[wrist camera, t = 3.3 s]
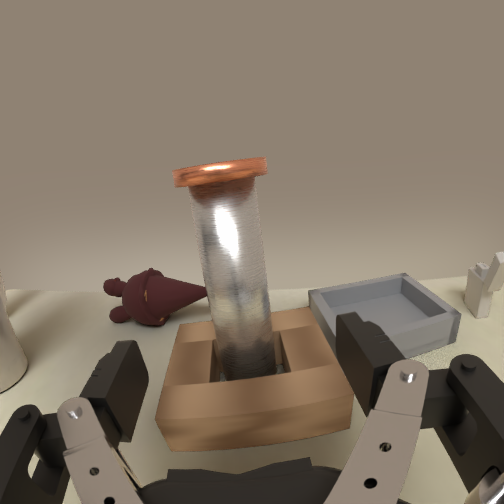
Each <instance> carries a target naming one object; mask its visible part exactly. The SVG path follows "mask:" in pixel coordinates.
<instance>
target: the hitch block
mask: <svg viewBox="0 0 504 504" xmlns="http://www.w3.org/2000/svg"><path fill="white" fill-rule="evenodd" d="M271 320H272V329H273V338H274V348H275V357H276V365H277V364H283V367H284V371H285V373H283V374H277V375H271V376H264V377H257V378H250V379H242V380H233V381H224V382H220V372H224V371H223V367H222V362H221V358H220V354H219V349H218V345H217V340H216V335H215V331H214V326H213V321H206V322H197V323H188V324H180V325H179V329H178V332H177V336H176V339H175V343H174V347H173V350H172V354H171V358H170V361H169V365H168V369H167V372H166V376H165V380H164V384H163V388H162V392H161V396H160V400H159V404H158V408H157V412H156V416H155V421H156V423H157V425H158V427H159V429H160V431H161V433H162V435H163V437H164V439H165V440H166V442H167V444H168V446H169V448H170V450H171V451H208V450H224V449H236V448H246V447H255V446H263V445H270V444H277V443H283V442H289V441H295V440H300V439H305V438H310V437H315V436H320V435H324V434H329V433H333V432H337V431H341V430H345V429H349V428H350V421H351V414H352V406H353V398H354V392H353V390H352V389H351V387H350V385H349V383H348V381H347V379H346V377H345V375H344V373H343V371H342V369H341V367H340V365H339V363H338V361H337V359H336V357H335V355H334V353H333V351H332V350H331V348H330V346H329V344H328V342H327V340H326V338H325V336H324V334H323V332H322V330H321V328H320V327H319V325H318V323H317V321H316V319H315V317H314V315H313V313H312V311H311V310H310V308H309V307H304V308H298V309H292V310H286V311H279V312H273V313H271Z"/></svg>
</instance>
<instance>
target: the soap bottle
mask: <svg viewBox="0 0 504 504" xmlns="http://www.w3.org/2000/svg"><path fill="white" fill-rule="evenodd" d="M0 296H1V299H2V302H3V304H4V307H5V310H6V301H7V298H6V293H5V287H4V281H3V278H2V274H1V271H0Z"/></svg>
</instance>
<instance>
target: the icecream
mask: <svg viewBox="0 0 504 504" xmlns="http://www.w3.org/2000/svg"><path fill="white" fill-rule="evenodd" d="M103 288H104V291H105V292H106V293H107V294H108V295H110V296H116V297H122V304H123V306H118V307H116V308H114V309H112V310H111V312H110V315H109V317H110V319H111V320H112V321H113V322H115V323H122V322H124V321H126V320H129V319H131V318H133V319H135V320H136V321H138V322H140V323H142V324H146V325H164V324H165V322H166V320H167V319H168V317H169V316H170V314H171V313H173V312H175V311H177V310H179V309H181V308H183V307H185V306H187V305H189V304H191V303H193V302H195V301H198V300H200V299H202V298H204V297H206V296H207V292H206V287H203V286H199V285H195V284H191V283H187V282H182V281H179V280H175V279H171V278H167V277H164V276H163V275H162V273H161V272H160V271H157V270H153V268H149V270H148V271H144V272H142V273H140V274H138V275H134V276H132V277H131V278H130V279H129V280H128V282H127V283H126V282H123V281H120V279H119V278H115V279H109V280H106V281H105V283H104V286H103Z"/></svg>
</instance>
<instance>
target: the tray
mask: <svg viewBox="0 0 504 504" xmlns="http://www.w3.org/2000/svg"><path fill="white" fill-rule="evenodd" d="M308 295H309V308H310V310H311V311H312V313H313V315H314V317H315V319H316V321H317V323H318V325H319V327H320V328H321V330H322V332H323V334H324V336H325V338H326V340H327V342H328V344H329V346H330V348H331V350H332V351H333V353H334V355H335V357H336V359H337V356H336V347H335V346H336V316H337V315H339V314H344V313H349V312H354V311H355V312H356V313H357V314H358V315H359V316H360V318H361V319H362V320H363V321H364V322H366V321H371V322H373V323H375V324H377V325H378V326H380V327H381V329H382V330H383V331H384V332H385V335H387V336H388V337H389V338H390V341H392V342H393V343H394V344H395V346H396V347H397V348H398V349H399V350H400V352H401V353H402V354H403V355H404V357H405V358H406V359H408V358H411V357H414V356H417V355H420V354H423V353H426V352H429V351H432V350H435V349H437V348H440V347H443V346H445V345H448V344H451V343H453V342H455V341H456V337H457V333H458V328H459V324H460V319H461V313H459V312H458V311H457V310H455V309H454V308H453V307H451V306H450V305H449V304H447V303H446V302H445V301H443V300H442V299H441V298H439V297H438V296H437V295H435V294H434V293H432V292H431V291H430V290H428V289H427V288H426V287H424V286H423V285H421V284H420V283H419V282H417V281H416V280H414V279H413V278H412V277H410V276H409V275H407V274H406V273H402V274H397V275H391V276H386V277H381V278H376V279H371V280H366V281H360V282H355V283H349V284H344V285H338V286H332V287H326V288H320V289H314V290H308ZM337 361H338V359H337ZM338 363H339V362H338ZM339 365H340V364H339ZM340 367H341V366H340ZM341 369H342V368H341ZM342 371H343V370H342ZM343 373H344V372H343ZM344 375H345V374H344Z"/></svg>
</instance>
